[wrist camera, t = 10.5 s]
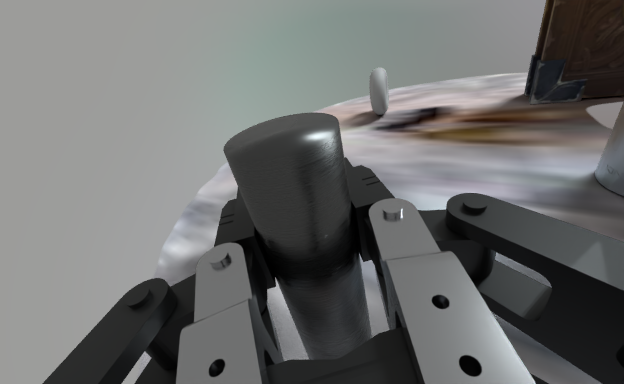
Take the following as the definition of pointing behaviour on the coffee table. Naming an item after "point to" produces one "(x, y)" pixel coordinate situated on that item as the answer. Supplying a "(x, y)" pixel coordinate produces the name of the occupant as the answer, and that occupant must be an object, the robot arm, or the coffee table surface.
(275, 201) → the grey piece
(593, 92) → the decorative book
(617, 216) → the coffee table surface
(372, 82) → the donut
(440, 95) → the coffee table surface
